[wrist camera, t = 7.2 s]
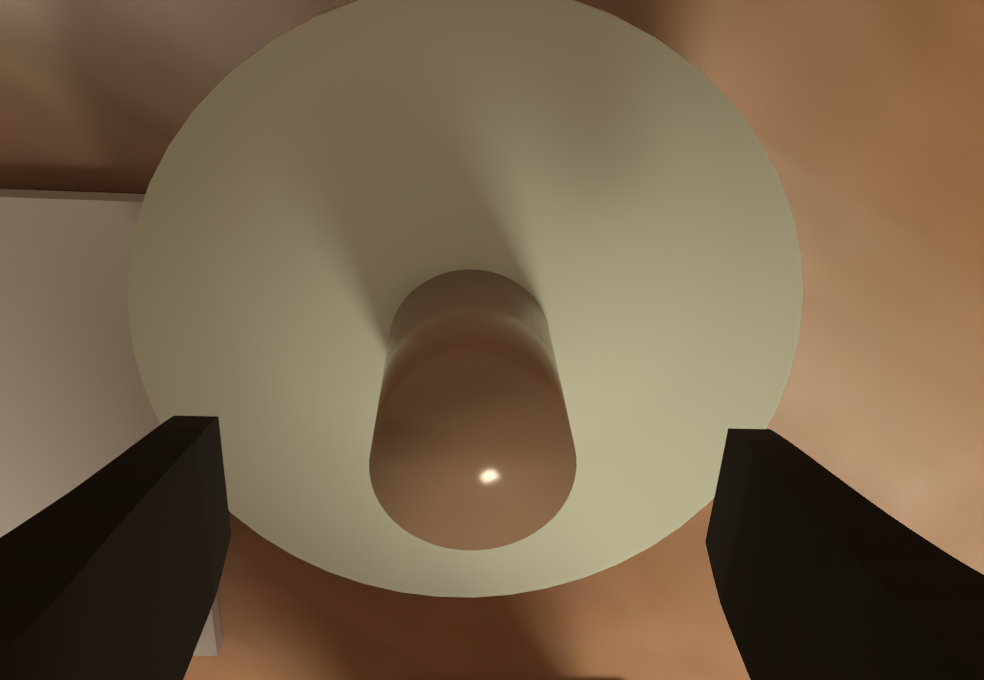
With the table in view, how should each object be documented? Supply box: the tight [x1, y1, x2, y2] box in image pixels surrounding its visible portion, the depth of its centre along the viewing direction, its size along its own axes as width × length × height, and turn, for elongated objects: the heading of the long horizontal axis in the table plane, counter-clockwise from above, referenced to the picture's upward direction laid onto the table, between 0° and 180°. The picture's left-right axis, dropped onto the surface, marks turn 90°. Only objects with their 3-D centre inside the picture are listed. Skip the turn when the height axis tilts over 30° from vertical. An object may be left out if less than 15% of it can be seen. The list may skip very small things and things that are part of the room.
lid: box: [128, 0, 803, 598], centre depth 15 cm, size 12×12×5 cm
